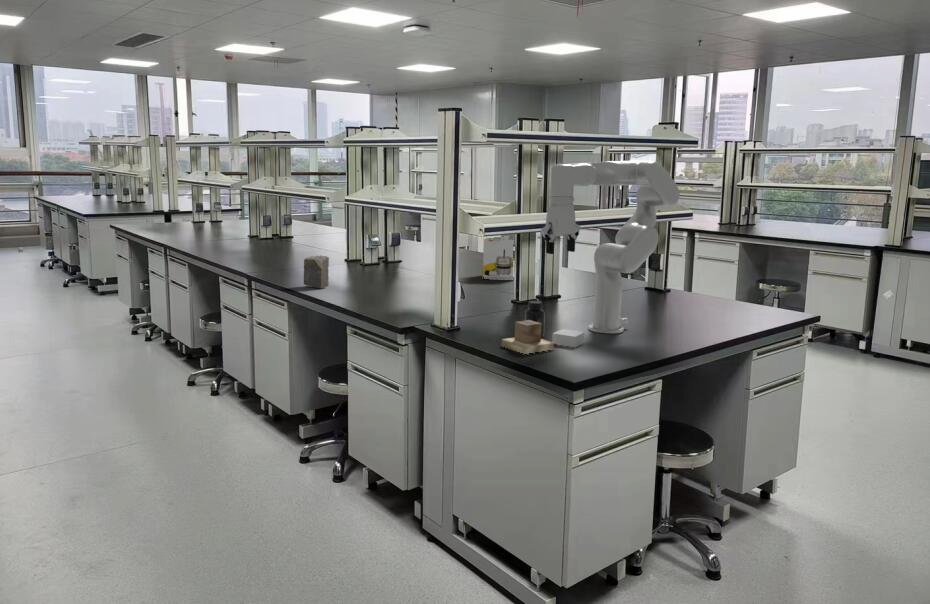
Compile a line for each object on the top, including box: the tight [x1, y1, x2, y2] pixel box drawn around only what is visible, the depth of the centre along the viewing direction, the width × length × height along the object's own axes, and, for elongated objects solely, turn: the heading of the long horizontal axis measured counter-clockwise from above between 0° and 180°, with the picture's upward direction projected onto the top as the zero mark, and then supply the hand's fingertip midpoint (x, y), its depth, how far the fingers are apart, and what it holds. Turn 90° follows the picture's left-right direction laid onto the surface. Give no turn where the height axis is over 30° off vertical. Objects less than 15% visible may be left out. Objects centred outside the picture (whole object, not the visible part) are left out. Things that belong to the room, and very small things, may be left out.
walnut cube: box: [514, 319, 542, 344], centre depth 227 cm, size 6×6×6 cm
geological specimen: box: [303, 255, 330, 289], centre depth 330 cm, size 11×6×15 cm, turn 61°
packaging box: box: [482, 236, 514, 278], centre depth 371 cm, size 16×16×25 cm
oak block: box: [501, 336, 555, 355], centre depth 228 cm, size 12×12×3 cm
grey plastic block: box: [551, 328, 585, 348], centre depth 235 cm, size 8×8×4 cm
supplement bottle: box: [524, 300, 546, 338], centre depth 244 cm, size 7×7×12 cm
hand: (560, 252), depth 239 cm, fingers open, 9 cm apart
